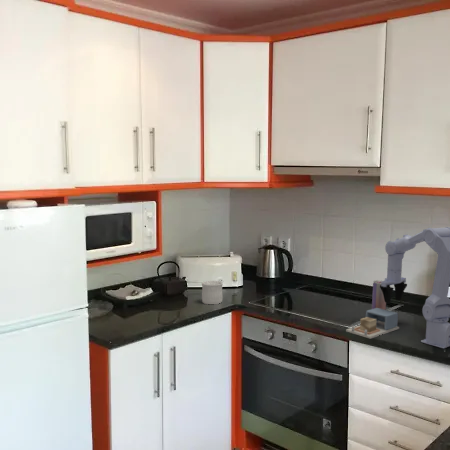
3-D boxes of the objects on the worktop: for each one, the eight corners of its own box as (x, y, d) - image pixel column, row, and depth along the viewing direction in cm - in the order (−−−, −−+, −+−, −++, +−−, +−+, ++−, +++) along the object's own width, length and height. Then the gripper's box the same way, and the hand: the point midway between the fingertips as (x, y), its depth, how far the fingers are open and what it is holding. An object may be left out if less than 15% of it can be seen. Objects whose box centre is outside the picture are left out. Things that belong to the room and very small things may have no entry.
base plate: (398, 328, 224) (399, 322, 224) (370, 338, 211) (370, 331, 211) (374, 322, 233) (375, 315, 233) (346, 331, 220) (346, 324, 220)
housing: (397, 326, 224) (397, 312, 224) (386, 329, 219) (386, 316, 218) (376, 320, 232) (377, 307, 231) (365, 324, 227) (365, 310, 226)
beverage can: (369, 314, 245) (370, 281, 243) (376, 311, 249) (377, 279, 247) (381, 317, 241) (382, 283, 239) (387, 314, 245) (389, 281, 243)
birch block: (376, 330, 219) (376, 319, 219) (369, 332, 216) (369, 321, 216) (366, 327, 223) (367, 316, 222) (360, 329, 220) (360, 318, 219)
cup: (226, 302, 262) (226, 282, 261) (211, 306, 255) (212, 285, 254) (212, 298, 269) (212, 279, 268) (197, 302, 262) (198, 282, 261)
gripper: (396, 266, 235) (395, 296, 237) (375, 269, 226) (374, 301, 228) (410, 268, 230) (409, 300, 231) (390, 272, 221) (388, 305, 223)
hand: (392, 301), depth 229 cm, fingers open, 7 cm apart
